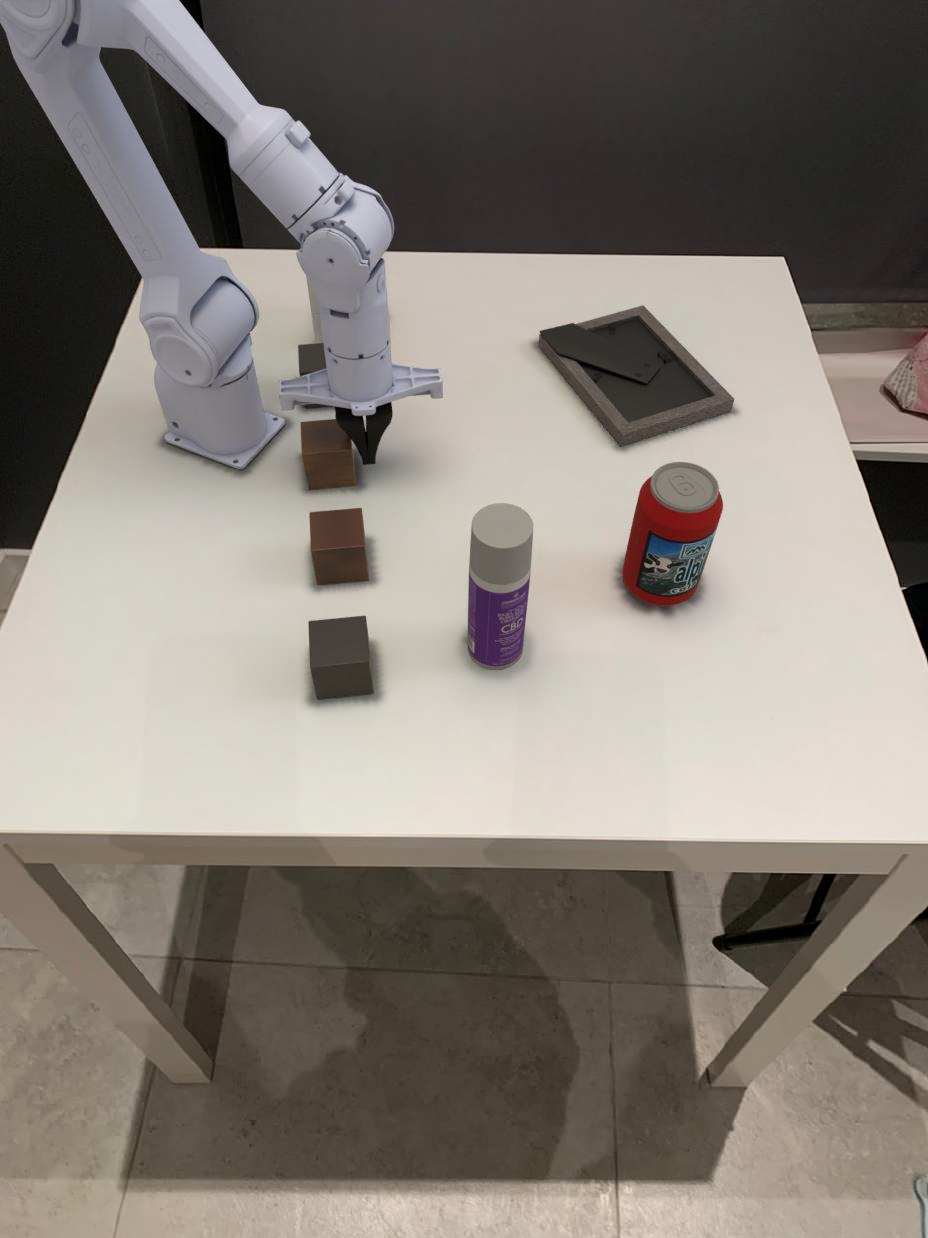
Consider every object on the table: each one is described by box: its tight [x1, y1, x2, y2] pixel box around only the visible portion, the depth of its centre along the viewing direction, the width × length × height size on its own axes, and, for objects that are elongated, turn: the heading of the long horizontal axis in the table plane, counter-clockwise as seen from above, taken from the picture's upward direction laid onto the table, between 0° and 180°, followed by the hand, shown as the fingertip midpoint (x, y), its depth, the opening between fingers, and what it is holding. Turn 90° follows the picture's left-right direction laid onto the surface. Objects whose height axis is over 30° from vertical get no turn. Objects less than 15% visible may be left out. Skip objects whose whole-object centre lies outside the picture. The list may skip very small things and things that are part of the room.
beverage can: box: [621, 461, 724, 607], centre depth 78 cm, size 7×7×12 cm
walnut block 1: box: [300, 418, 357, 491], centre depth 89 cm, size 5×5×5 cm
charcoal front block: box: [307, 615, 375, 700], centre depth 75 cm, size 5×5×5 cm
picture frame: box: [537, 304, 736, 447], centre depth 100 cm, size 13×2×18 cm
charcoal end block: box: [297, 342, 330, 409], centre depth 97 cm, size 5×5×5 cm
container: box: [467, 502, 534, 671], centre depth 72 cm, size 5×5×15 cm
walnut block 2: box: [308, 507, 370, 586], centre depth 82 cm, size 5×5×5 cm
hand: (368, 457), depth 90 cm, fingers closed
